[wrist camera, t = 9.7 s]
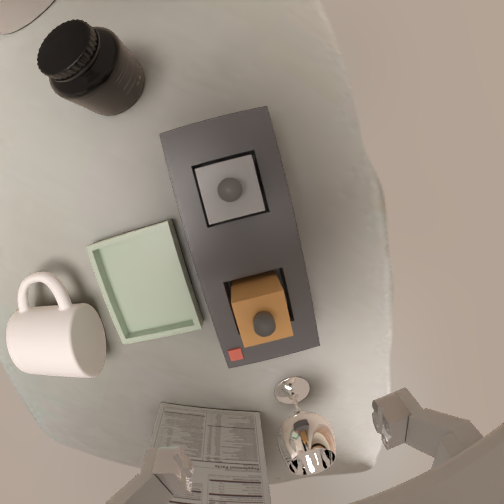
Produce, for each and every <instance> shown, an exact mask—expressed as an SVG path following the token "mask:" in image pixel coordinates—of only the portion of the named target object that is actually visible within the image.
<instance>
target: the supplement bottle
mask: <svg viewBox="0 0 504 504" xmlns="http://www.w3.org/2000/svg"><path fill="white" fill-rule="evenodd" d="M37 61H38V63H37V65H38V66H39V69H40V70H41V72H42V73H44V74H45V75H46V76H48V77H49V81H50V85H51V87H52V89H53V90H54V91H55V93H56V94H58V95H59V96H61V97H62V98H64V99H67V100H69V101H71V102H73V103H75V104H78V105H80V106H82V107H84V108H87V109H89V110H91V111H93V112H95V113H98V114H101V115H115V114H118V113H121V112H123V111H125V110H126V109H128V108H129V107H130V106H131V105H132V104H133V103H134V102H135V101H136V100H137V99H138V97H139V96H140V94H141V92H142V89H143V85H144V73H143V70H142V68H141V66H140V64H139V63H138V62H137V60H136V59H135V58H134V57H133V55H132V54H131V53H130V52H129V50H128V49H127V48H126V47H125V45H124V44H123V43H122V42H121V40H120V39H119V38H118V37H117V36H116V35H115V34H114V33H113V32H112V31H111V30H109V29H107V28H104V27H92V26H90V25H89V24H88V23H87V22H84V21H83V20H78V19H77V20H71V21H67V22H65V23H62V24H61V25H59V26H57V27H56V28H55V29H53V30H52V32H51V33H49V34H48V36H47V37H46V38H45V39H44V42H43V43H42V44H41V47H40V49H39V53H38V58H37Z"/></svg>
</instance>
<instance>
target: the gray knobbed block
mask: <svg viewBox="0 0 504 504" xmlns="http://www.w3.org/2000/svg"><path fill="white" fill-rule="evenodd" d="M195 173H196V176H197V180H198V184H199V188H200V192H201V196H202V199H203V203H204V207H205V211H206V214H207V218H208V222H209V225H210V224H214V223H218V222H222V221H226V220H229V219H233V218H237V217H241V216H245V215H249V214H253V213H257V212H261V211H265V207H264V203H263V199H262V195H261V191H260V187H259V183H258V179H257V175H256V171H255V167H254V163H253V159H252V155H247V156H243V157H239V158H235V159H231V160H227V161H223V162H219V163H215V164H212V165H208V166H204V167H201V168H197V169H195Z"/></svg>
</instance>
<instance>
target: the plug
mask: <svg viewBox="0 0 504 504" xmlns="http://www.w3.org/2000/svg"><path fill="white" fill-rule="evenodd" d="M231 305H232V308H233V312H234V315H235V318H236V322H237V325H238V328H239V332H240V335H241V338H242V342H243V345H244V348H246V347H250V346H254V345H258V344H263V343H267V342H271V341H275V340H279V339H282V338H286V337H290V336H294V335H293V331H292V326H291V322H290V317H289V312H288V308H287V303H286V299H285V294H284V290H283V288H282V286H281V284H280V281H279V279H278V277H277V275H276V273H275V271H274V270H270V271H267V272H263V273H259V274H255V275H251V276H247V277H243V278H239V279H235V280H231Z"/></svg>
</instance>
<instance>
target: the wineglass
mask: <svg viewBox="0 0 504 504" xmlns="http://www.w3.org/2000/svg"><path fill="white" fill-rule="evenodd" d="M309 390H310V386H309V383H308V382H307V381H306V380H305V379H303V378H300V377H290V378H287V379H284V380H282V381H281V382H280V383H279V384H278V385H277V386H276V388H275V391H274V394H275V397H276V399H277V400H278V401H280V402H282V403H285V404H293V403H294V406H295V412H294V415H293V416H291V417H289V418H288V419H287V420H286V421H285V422H284V423H283V424H282V425H281V427H280V429H279V432H278V447H279V450H280V453H281V455H282V458H283V460H284V462H285V464H286V465H287V467H288V469H289V470H290V471H291V472H292V473H294V474H297V475H311V474H316V473H319V472H321V471H323V470H325V469H327V468H328V467H330V466H331V465H332V464H333V463H334V461H335V459H336V443H335V437H334V433H333V430H332V427H331V426H330V424H329V422H328V421H327V420H326V419H325V418H324V417H323V416H321V415H319V414H316V413H313V412H302V410H301V409H300V408H299V406H298V403H297V402H299V401H301V400H303V399H304V398H305V397H306V396H307V395H308V393H309Z"/></svg>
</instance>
